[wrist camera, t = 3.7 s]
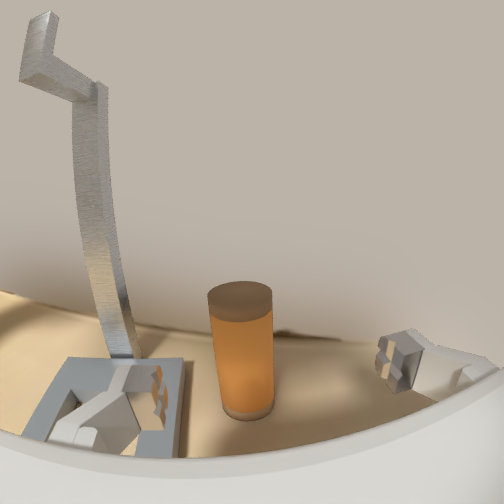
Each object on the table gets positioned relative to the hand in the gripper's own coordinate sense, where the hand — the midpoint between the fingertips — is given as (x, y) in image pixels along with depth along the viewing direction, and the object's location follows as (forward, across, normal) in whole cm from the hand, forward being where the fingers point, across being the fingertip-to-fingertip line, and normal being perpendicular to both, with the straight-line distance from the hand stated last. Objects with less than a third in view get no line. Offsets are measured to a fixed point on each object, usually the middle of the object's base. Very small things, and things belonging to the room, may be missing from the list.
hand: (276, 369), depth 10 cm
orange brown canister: (+13, 0, -14) cm, 19 cm away
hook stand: (+16, -14, -14) cm, 26 cm away
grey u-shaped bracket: (+12, -14, -14) cm, 24 cm away
